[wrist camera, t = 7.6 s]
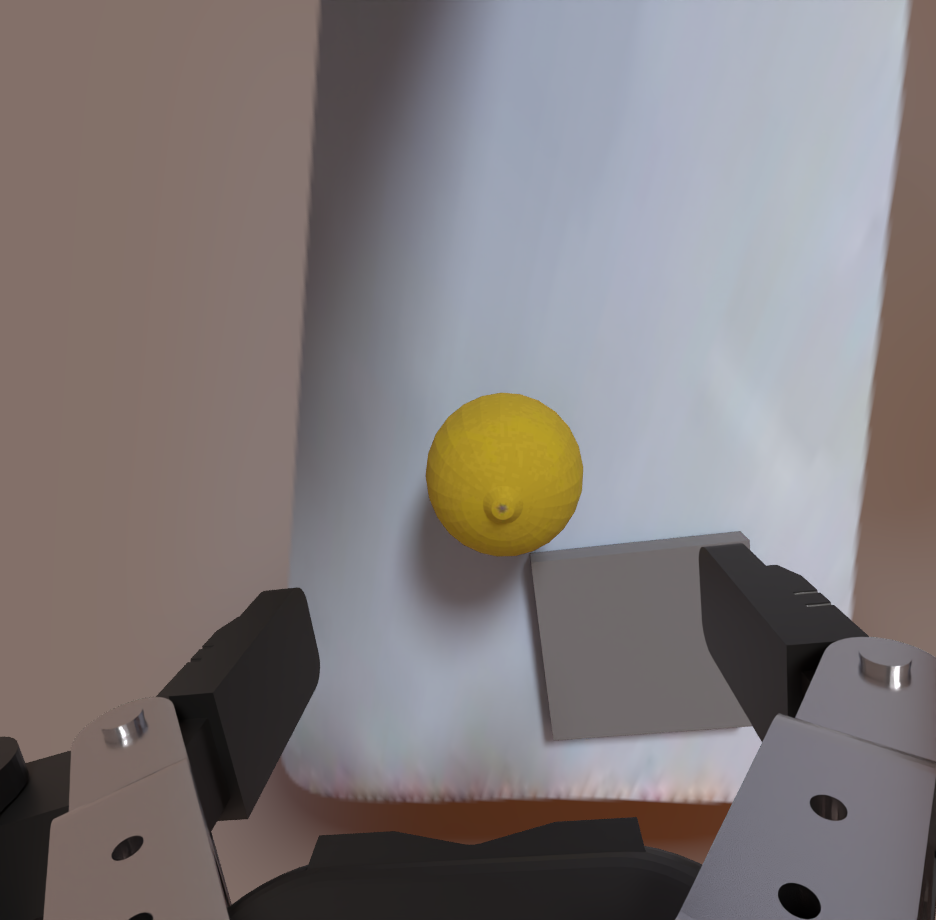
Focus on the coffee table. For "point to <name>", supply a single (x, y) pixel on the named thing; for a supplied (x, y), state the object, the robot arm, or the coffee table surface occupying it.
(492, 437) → the lemon
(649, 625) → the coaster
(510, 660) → the coffee table surface
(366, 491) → the coffee table surface
